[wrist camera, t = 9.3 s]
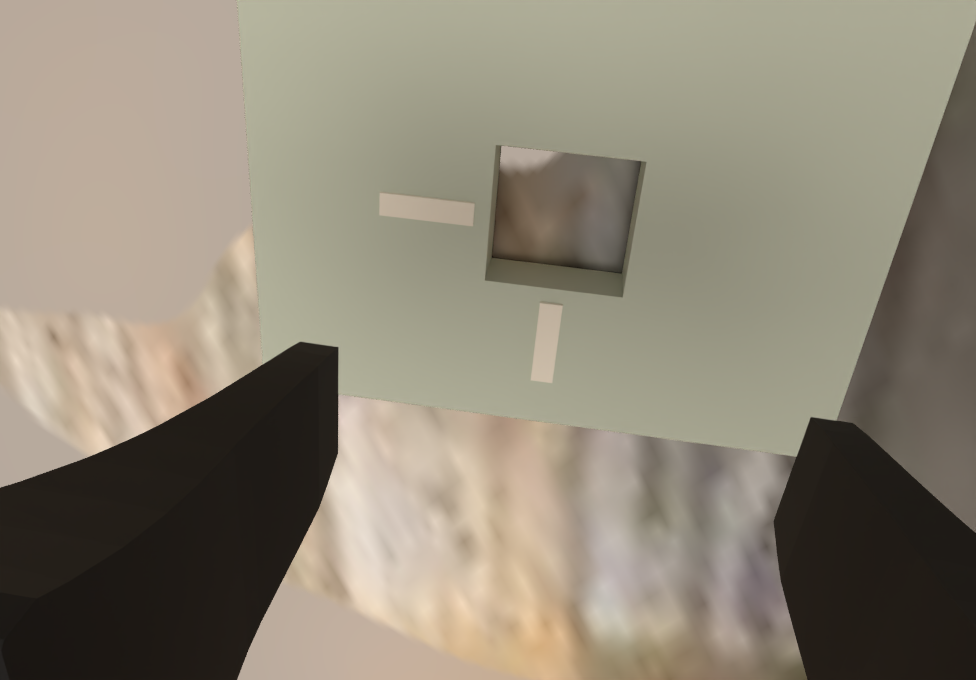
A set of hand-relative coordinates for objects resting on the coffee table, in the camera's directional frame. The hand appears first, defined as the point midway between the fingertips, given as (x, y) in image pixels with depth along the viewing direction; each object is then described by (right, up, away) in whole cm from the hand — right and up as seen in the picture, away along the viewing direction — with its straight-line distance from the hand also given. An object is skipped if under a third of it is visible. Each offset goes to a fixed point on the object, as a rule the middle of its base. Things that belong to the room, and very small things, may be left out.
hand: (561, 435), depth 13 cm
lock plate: (+1, +5, +9) cm, 11 cm away
